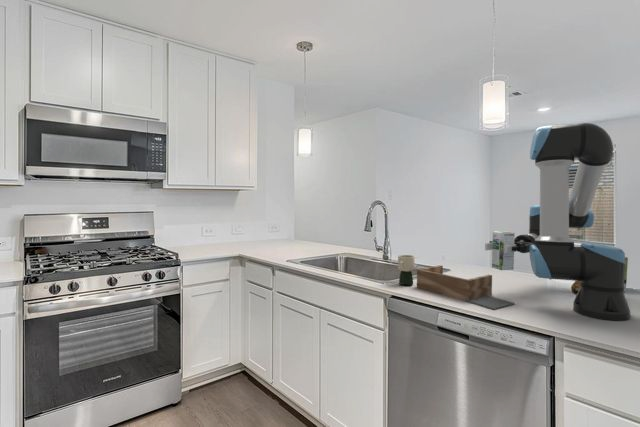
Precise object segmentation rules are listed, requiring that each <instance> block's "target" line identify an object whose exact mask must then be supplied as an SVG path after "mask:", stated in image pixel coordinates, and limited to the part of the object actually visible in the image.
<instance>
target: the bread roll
mask: <svg viewBox="0 0 640 427" xmlns="http://www.w3.org/2000/svg"><path fill="white" fill-rule="evenodd" d="M570 289H571V292H572V294H575V295H577V293H578V291H579V289H580V281H576V282H575V281H574V282H573V283H572V284H571V287H570Z"/></svg>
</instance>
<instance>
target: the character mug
mask: <svg viewBox="0 0 640 427" xmlns="http://www.w3.org/2000/svg"><path fill="white" fill-rule="evenodd" d="M397 262H398V267H397V269H398V270H399V271H400V273H399V280H398V284H399V285H403V286H410V285H411V286H413V285H414V278H413V272H414V270H415V256H414V255H411V254H401V255H398V256H397Z"/></svg>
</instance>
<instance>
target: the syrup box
mask: <svg viewBox="0 0 640 427" xmlns="http://www.w3.org/2000/svg"><path fill="white" fill-rule="evenodd" d="M515 238H516V237H515V232H511V231H505V230H494V231H492V240H491V241H492V250H491V268H492V269H495V270H499V271H511V270H514V266H515V265H514V264H515V252H511V253H505V246H506V245H513V244H514V239H515Z"/></svg>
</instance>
